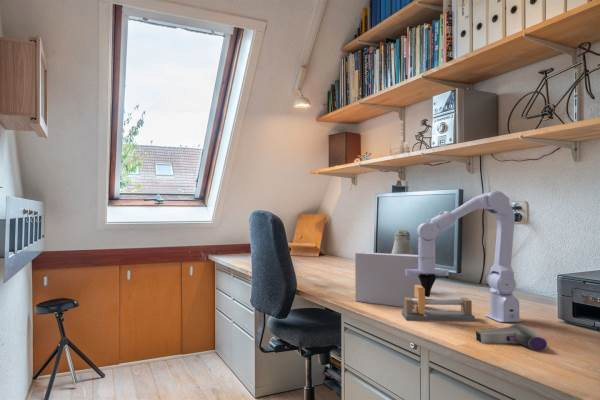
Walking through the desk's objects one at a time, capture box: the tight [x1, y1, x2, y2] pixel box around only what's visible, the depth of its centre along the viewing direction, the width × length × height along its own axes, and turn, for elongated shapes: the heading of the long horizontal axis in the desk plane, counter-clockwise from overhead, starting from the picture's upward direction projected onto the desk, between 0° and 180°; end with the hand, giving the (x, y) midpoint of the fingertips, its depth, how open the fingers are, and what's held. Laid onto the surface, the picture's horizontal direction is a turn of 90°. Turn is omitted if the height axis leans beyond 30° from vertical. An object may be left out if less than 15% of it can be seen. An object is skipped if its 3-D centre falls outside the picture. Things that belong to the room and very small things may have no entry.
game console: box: [354, 251, 426, 309], centre depth 173 cm, size 6×27×20 cm, turn 59°
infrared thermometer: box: [475, 323, 548, 352], centre depth 121 cm, size 5×12×15 cm
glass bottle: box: [391, 229, 413, 255], centre depth 201 cm, size 10×10×28 cm
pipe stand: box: [401, 297, 476, 322], centre depth 151 cm, size 23×8×7 cm, turn 87°
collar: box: [414, 285, 426, 314], centre depth 151 cm, size 2×7×9 cm, turn 177°
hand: (426, 296), depth 151 cm, fingers closed
